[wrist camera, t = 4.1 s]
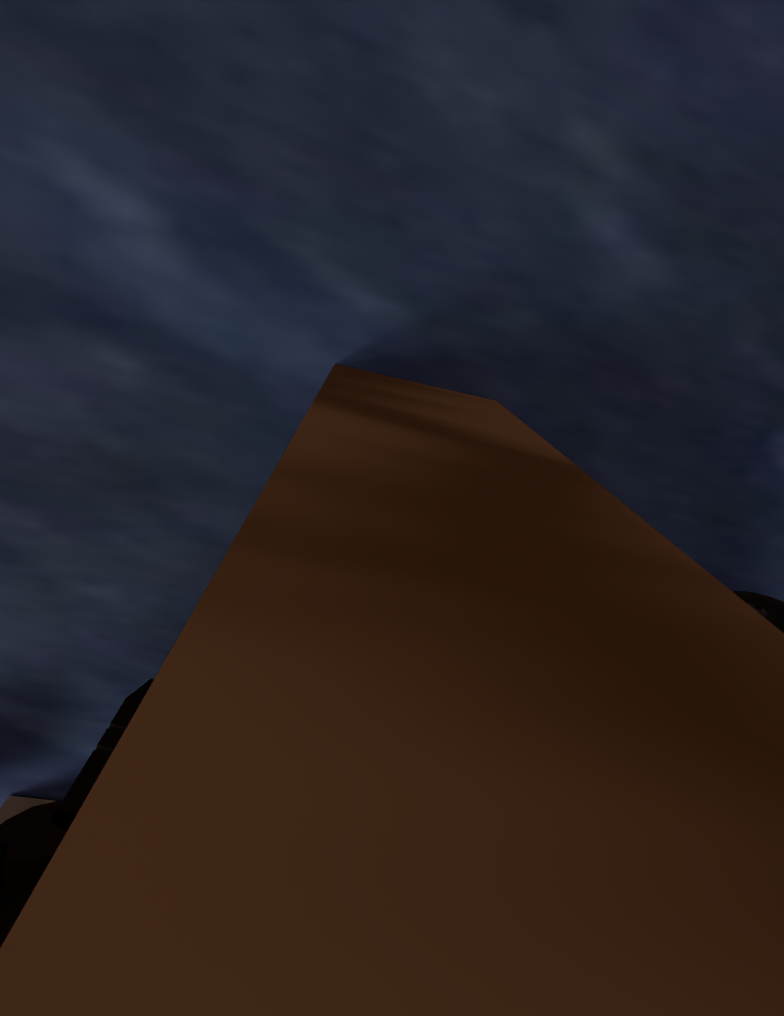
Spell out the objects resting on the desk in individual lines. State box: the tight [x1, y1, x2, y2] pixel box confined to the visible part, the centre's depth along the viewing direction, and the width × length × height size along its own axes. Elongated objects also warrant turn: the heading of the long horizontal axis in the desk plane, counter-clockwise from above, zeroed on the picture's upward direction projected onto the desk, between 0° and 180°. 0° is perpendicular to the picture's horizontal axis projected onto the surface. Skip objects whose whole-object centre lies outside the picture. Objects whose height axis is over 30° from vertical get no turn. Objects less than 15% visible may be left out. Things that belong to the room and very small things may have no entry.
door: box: [0, 364, 784, 1016], centre depth 9 cm, size 5×12×12 cm, turn 167°
